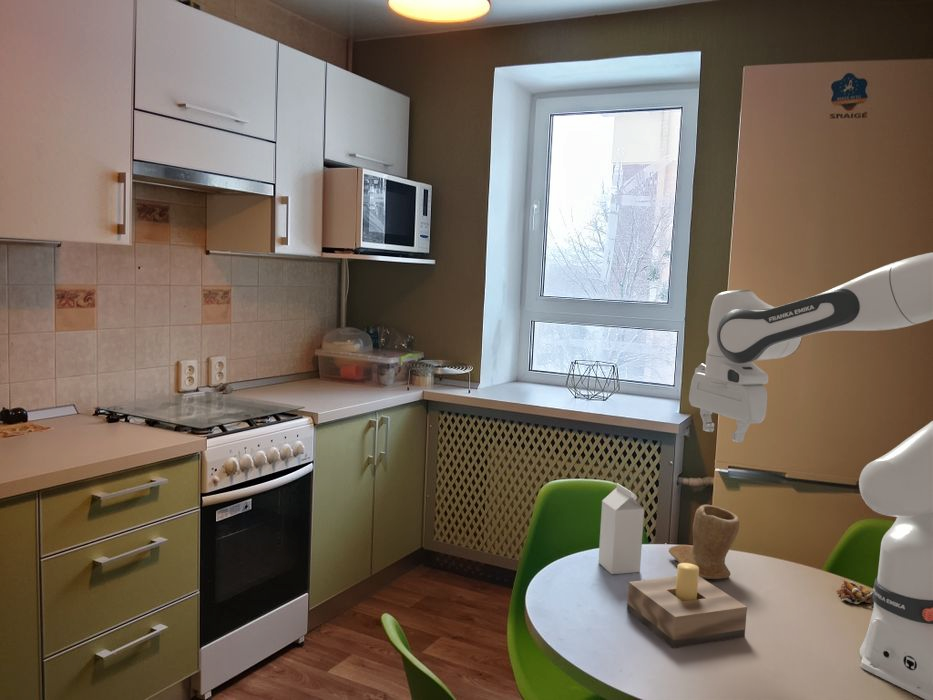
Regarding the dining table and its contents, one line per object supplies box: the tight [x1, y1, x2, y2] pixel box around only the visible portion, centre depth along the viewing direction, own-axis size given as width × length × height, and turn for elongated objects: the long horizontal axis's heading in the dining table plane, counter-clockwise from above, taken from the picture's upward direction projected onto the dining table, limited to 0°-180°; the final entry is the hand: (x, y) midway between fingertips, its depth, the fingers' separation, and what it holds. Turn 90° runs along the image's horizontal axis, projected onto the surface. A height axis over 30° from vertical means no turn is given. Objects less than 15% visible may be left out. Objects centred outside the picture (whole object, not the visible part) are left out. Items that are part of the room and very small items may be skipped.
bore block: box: [626, 575, 748, 649], centre depth 155 cm, size 16×16×6 cm
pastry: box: [835, 579, 874, 609], centre depth 172 cm, size 7×12×4 cm, turn 166°
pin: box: [676, 563, 699, 601], centre depth 155 cm, size 4×4×10 cm
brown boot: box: [668, 504, 740, 580], centre depth 182 cm, size 15×12×15 cm
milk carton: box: [598, 482, 645, 575], centre depth 181 cm, size 7×7×19 cm
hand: (722, 436), depth 163 cm, fingers open, 8 cm apart
